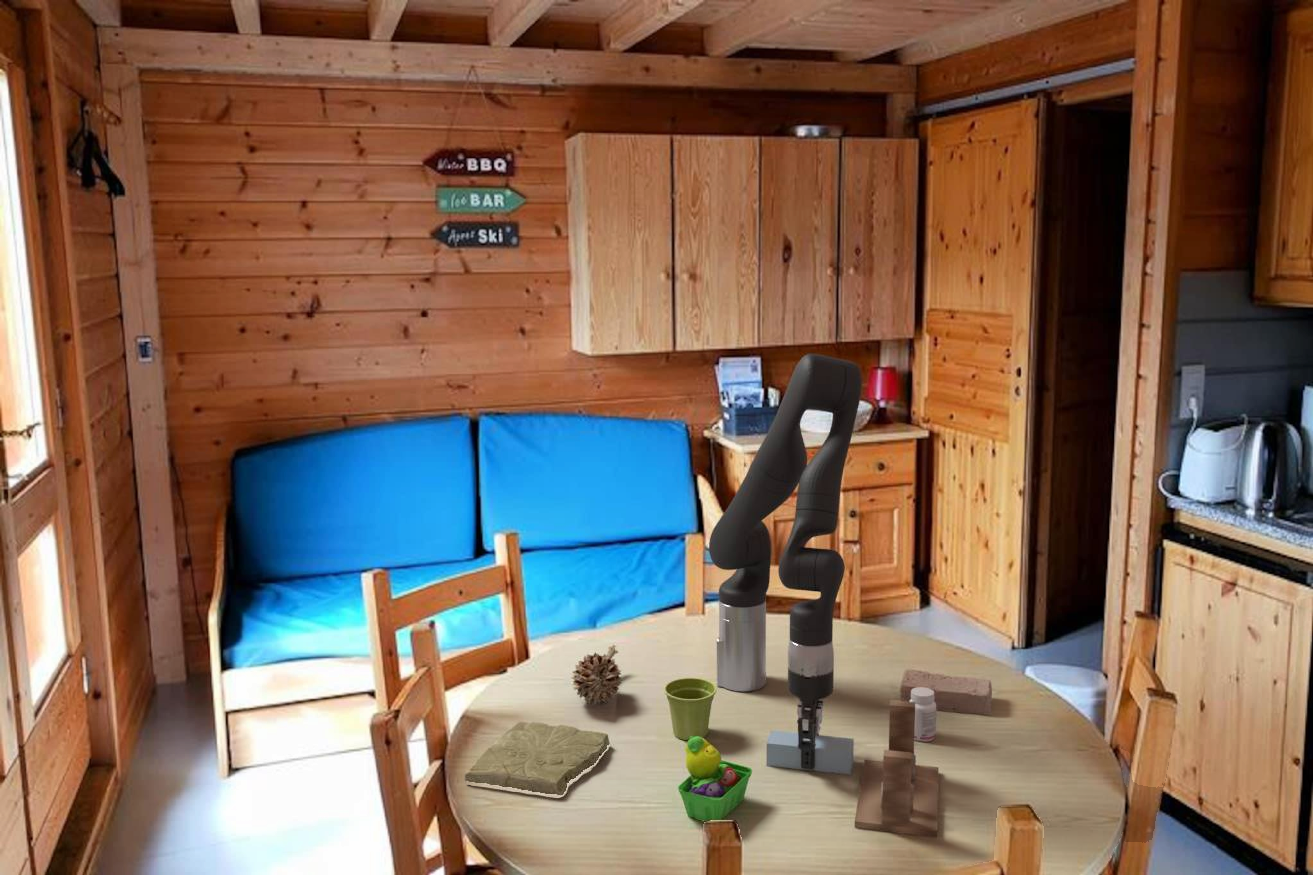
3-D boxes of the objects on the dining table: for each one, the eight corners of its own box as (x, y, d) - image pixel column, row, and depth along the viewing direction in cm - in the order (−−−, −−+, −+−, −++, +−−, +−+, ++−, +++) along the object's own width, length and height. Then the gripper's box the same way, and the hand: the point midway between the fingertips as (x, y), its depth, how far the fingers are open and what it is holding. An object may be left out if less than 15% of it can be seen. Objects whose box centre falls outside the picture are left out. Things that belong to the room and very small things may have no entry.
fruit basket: (719, 831, 164) (719, 761, 162) (669, 816, 168) (668, 748, 166) (754, 798, 173) (754, 731, 171) (705, 784, 178) (705, 719, 176)
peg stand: (854, 827, 164) (855, 753, 162) (864, 764, 183) (865, 697, 181) (936, 837, 161) (939, 761, 159) (938, 772, 180) (940, 704, 178)
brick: (991, 699, 209) (992, 675, 208) (990, 717, 201) (991, 693, 200) (902, 690, 214) (903, 667, 213) (899, 707, 206) (899, 684, 205)
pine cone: (618, 718, 202) (617, 668, 200) (567, 717, 203) (565, 667, 201) (631, 671, 224) (630, 625, 222) (585, 670, 225) (583, 624, 223)
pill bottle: (937, 732, 194) (939, 688, 193) (932, 744, 190) (933, 698, 189) (910, 728, 196) (912, 684, 195) (905, 739, 192) (906, 694, 191)
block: (850, 774, 180) (851, 751, 179) (766, 765, 184) (766, 743, 183) (853, 760, 185) (853, 738, 184) (771, 751, 188) (771, 730, 188)
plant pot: (727, 732, 196) (727, 686, 194) (693, 750, 189) (692, 703, 188) (688, 717, 202) (688, 673, 201) (653, 734, 196) (653, 689, 194)
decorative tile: (463, 787, 179) (462, 767, 178) (518, 734, 198) (517, 716, 197) (568, 805, 173) (567, 784, 172) (614, 749, 191) (614, 730, 191)
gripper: (794, 647, 189) (793, 739, 192) (781, 679, 175) (781, 778, 178) (837, 651, 187) (836, 743, 190) (828, 683, 173) (827, 783, 176)
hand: (809, 759), depth 184 cm, fingers closed on block, 5 cm apart
